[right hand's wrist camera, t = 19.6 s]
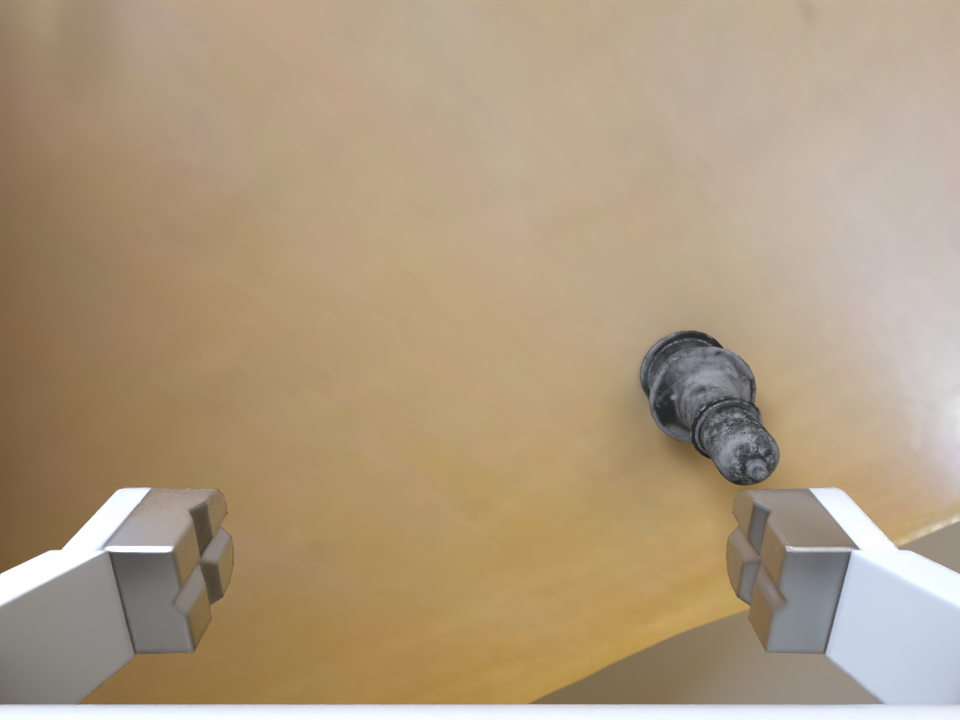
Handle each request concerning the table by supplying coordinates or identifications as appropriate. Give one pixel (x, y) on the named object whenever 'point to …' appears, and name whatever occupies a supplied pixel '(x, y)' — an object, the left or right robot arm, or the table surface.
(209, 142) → the table surface
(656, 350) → the grey chess piece
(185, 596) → the right robot arm
